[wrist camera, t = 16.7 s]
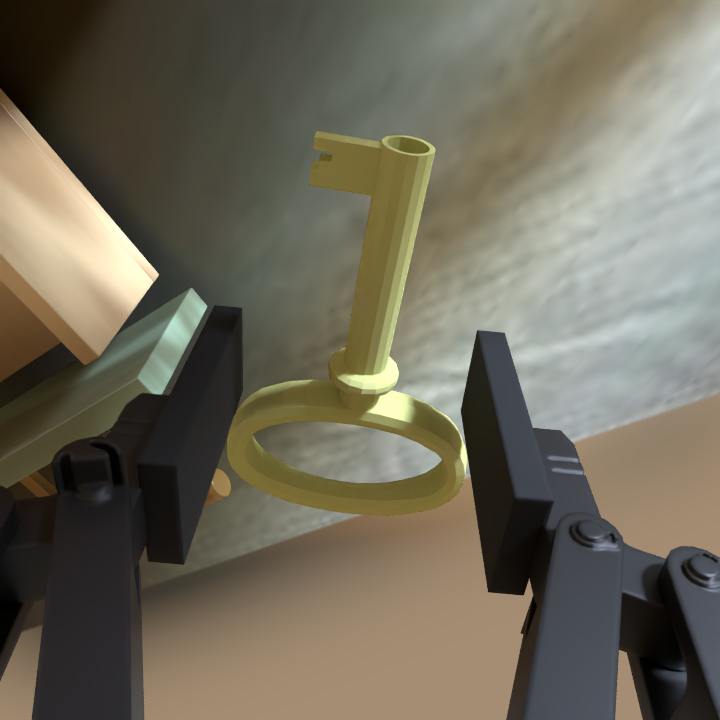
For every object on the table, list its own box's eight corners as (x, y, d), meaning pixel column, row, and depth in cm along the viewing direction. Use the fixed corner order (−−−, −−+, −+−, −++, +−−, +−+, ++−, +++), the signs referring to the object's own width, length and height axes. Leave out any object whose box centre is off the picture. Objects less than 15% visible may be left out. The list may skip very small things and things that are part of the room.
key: (429, 99, 15) (434, 120, 14) (470, 491, 22) (476, 541, 20) (137, 146, 16) (104, 172, 15) (257, 510, 23) (245, 559, 21)
